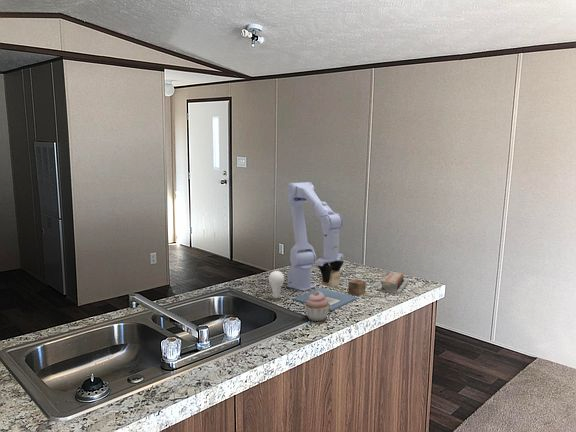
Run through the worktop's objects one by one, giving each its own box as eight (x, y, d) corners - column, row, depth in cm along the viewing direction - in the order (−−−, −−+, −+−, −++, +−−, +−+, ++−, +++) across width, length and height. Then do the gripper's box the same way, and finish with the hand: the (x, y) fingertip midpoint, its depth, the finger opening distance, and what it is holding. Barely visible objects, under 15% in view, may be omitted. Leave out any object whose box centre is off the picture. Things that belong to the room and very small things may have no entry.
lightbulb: (274, 294, 191) (275, 268, 189) (287, 298, 187) (287, 270, 186) (265, 298, 186) (265, 271, 184) (277, 302, 182) (278, 274, 181)
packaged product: (401, 283, 194) (376, 280, 198) (400, 295, 195) (376, 291, 199) (409, 272, 210) (386, 269, 214) (408, 283, 211) (386, 280, 215)
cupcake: (298, 318, 167) (298, 290, 165) (314, 311, 174) (315, 284, 172) (319, 325, 161) (320, 297, 159) (335, 317, 167) (336, 290, 166)
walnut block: (348, 293, 194) (348, 281, 194) (354, 290, 198) (355, 278, 197) (358, 296, 191) (359, 284, 190) (365, 293, 195) (365, 281, 194)
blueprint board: (293, 300, 185) (293, 298, 185) (320, 289, 199) (320, 287, 199) (331, 311, 174) (331, 309, 174) (357, 298, 188) (357, 297, 187)
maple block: (321, 284, 182) (321, 271, 181) (328, 281, 186) (329, 269, 185) (332, 287, 179) (332, 274, 178) (339, 284, 183) (339, 271, 182)
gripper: (329, 250, 172) (328, 287, 174) (350, 244, 183) (349, 278, 185) (313, 247, 177) (312, 283, 179) (335, 241, 188) (334, 275, 190)
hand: (330, 280), depth 182 cm, fingers closed on maple block, 5 cm apart
